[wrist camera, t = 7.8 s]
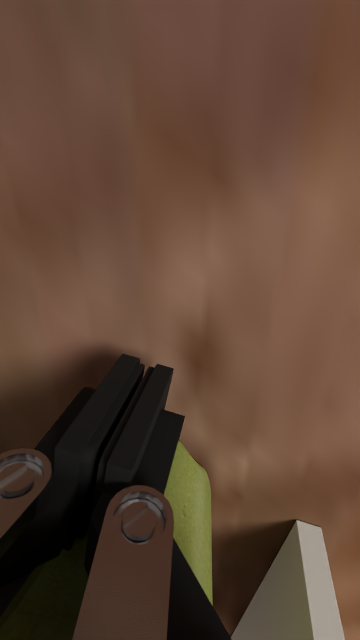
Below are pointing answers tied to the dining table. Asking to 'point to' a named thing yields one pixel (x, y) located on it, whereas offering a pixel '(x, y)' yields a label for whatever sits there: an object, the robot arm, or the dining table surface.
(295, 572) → the box
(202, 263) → the dining table surface
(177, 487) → the plant pot
